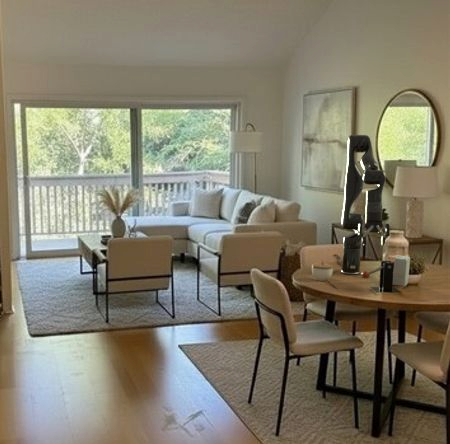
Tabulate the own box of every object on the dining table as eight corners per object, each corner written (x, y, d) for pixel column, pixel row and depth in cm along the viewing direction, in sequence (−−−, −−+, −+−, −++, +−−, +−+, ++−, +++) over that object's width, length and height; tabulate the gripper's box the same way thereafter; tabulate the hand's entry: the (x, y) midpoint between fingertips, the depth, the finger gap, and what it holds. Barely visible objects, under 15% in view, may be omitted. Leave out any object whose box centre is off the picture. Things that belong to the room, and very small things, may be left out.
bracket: (376, 294, 267) (378, 264, 265) (369, 289, 277) (371, 259, 275) (402, 295, 267) (404, 264, 265) (394, 289, 277) (395, 259, 274)
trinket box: (310, 276, 303) (311, 259, 301) (331, 277, 300) (332, 260, 299) (311, 281, 292) (312, 263, 291) (333, 282, 290) (334, 264, 289)
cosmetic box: (395, 283, 288) (397, 254, 286) (408, 285, 285) (410, 256, 283) (392, 286, 281) (393, 257, 279) (405, 288, 278) (407, 259, 276)
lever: (364, 280, 270) (361, 274, 269) (362, 278, 273) (359, 272, 273) (392, 268, 268) (389, 261, 268) (389, 267, 272) (387, 260, 271)
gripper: (386, 211, 275) (385, 245, 275) (356, 211, 276) (356, 244, 276) (391, 211, 267) (391, 245, 268) (361, 211, 269) (360, 245, 269)
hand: (373, 245), depth 272 cm, fingers open, 8 cm apart
